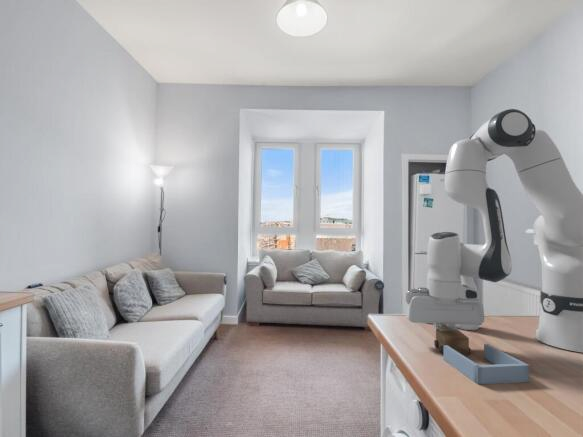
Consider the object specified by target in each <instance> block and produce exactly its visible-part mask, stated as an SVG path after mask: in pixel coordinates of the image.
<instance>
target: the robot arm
mask: <svg viewBox="0 0 583 437" xmlns="http://www.w3.org/2000/svg"><path fill="white" fill-rule="evenodd" d="M559 150H560V149H559V148H558V147H557V145H556V144H555V142H554V140H553V139H552V138H551V136H550V135H549V134H548V133H547V132H546V131H544V130H543V129H542V130H541V129H536V125H535V124H534V123H533V122H532V119H531V118H530V117H529V116H528V115H527V114H526V113H525V112H523V111H521V110H520V109H515V108H509V109H505V110H503V111H499V113H496V114H495V115H493V116H492V117H491V118H490V119H488V120H487V121H485V122H484V123H483V124H482V125H481V126H480V127H479V128H478V129H477V131H476V132H474V133H473V134H472V135H471V136H470V137H469V138H465V139H460V140H458V141H456V142H454V143H453V144H452V145H451V146H450V149H449V152H448V155H447V158H446V164H445V172H444V173H445V174H444V191H445V193H446V195H447V196H448V197H449V198H450V199H451V200H452V201H454V202H456V203H459V204H462V205H464V206H467V207H471V208H472V209H473V208H474V209H475V210H477V211H478V212H479V213H480V215H481V217H482V222H483V230H484V238H485V239H484V240H485V242H484V244H475V243H474V244H471V243H463V242H462V241H460V236H459V234H458V233H456V232H453V231H446V232H445V231H443V232H436V233H433V234H431V235H430V236H429V238H428V243H427V249H426V250H427V251H426V265H427V269H428V272H427V275H426V288H427V289H418V288H411V289H410V290H408V291H407V292H406V293H405V300H406V301H405V302H406V308H405V317H406V319H407V320H408V321H409V322H411V323H413V324H414V323H418V324H432V325H433V327H434V329H435V330H436V329H437V330H438V326H442V325H444V324H445V325H446V326H448V327H455V324H465V325H479V326H481V325H483V324H484V322H485V310H484V304H483V302H482V301H481V300H480V299H481V297H482V293H481V291H479V290H478V289H477V290H478V291H477V290H475V289H473V288H470V287H468V286H465V285H462V280H461V276H465V277H472V278H473V279H478V280H479V279H480V280H483V281H488V282H492V283H497V282H501V281H502V280H504V279H506V278H507V277H508V276H509V275H511V272H512V265H513V264H512V258H511V254H510V250H509V247H508V242H507V237H506V230H505V224H504V218H503V211H502V210H503V209H502V205H501V201H500V198H499V197H500V196H499V195H498V193H497V191H496V190H495V189H492V188H490V186H489V184H488V181H487V164H488V162H490V161H492V160H495V159H497V158H498V157H501V156H503V155H505V156H506V157H508V158H509V159H510V160H511V161H512V163H513V164H514V168H515V170H516V173H517V175H518V178H519V180H520V182H521V185H522V187H523V190H524V192H525V194H526V196H527V198H528V199H529V200H530V201H531V202H532V203H533V205H534V206H535V207H536V209H537V210H538V212H539V214H540V215H539V216H538V217H537V218H536V219H535V221H534V223H533V227H532V229H533V232H534V234H535V238H536V242H537V248H538V252H539V253H538V254H539V258H540V261H541V290H540V292H539V293H540V295H539V298H540V300H539V303H540V304H541V308H540V309H539V310H540V312H539V318H538V326H537V328H536V330H535V333H536V335H535V339H537V340H538V341H540V342H541V343H543V344H545V345H548V346H552V347H555V348H559V349H563V350H567V351H572V352H577V353H582V354H583V193H582V192H581V191H580V189H579V188H578V186H577V185H576V183H575V182H574V179H573V178H572V175H571V174H570V171H569V170H568V169H569V168H568V166H567V164H566V163H565V161H564V158H563V156H562V154H561V152H560V151H559ZM478 299H479V300H478Z"/></svg>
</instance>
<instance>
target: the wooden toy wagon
mask: <svg viewBox="0 0 583 437" xmlns="http://www.w3.org/2000/svg"><path fill="white" fill-rule="evenodd" d="M469 340H470V338H469V337H468V336H467V335H465V334H464V333H463V332H462V331H460V330H459V328H458V327H448V326H447V325H446V326H443V325H441V326H438V330H437V329H435V340H434V341H433V343H434V347H435V348H438V349H439V352H440V353H441V354H443V345H448V346H449V347H451V348H452V349H454V350H455V351H457V352H459V353H460V354H462V355H463V356H465V357H466V356H468V357H469V355H471V353H472V352H471V348H470V345H469V344H470V343H469Z"/></svg>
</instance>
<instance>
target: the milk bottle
mask: <svg viewBox="0 0 583 437" xmlns="http://www.w3.org/2000/svg"><path fill="white" fill-rule="evenodd" d="M461 280H462V285H465V286H468V287H470V288H473V289H475V290H477V291H479V290H478V287H477V284H476V283H475V280H474V278H472V277H465V276H461ZM478 300H480V299H478ZM455 327H458V329H461V330H465V331H478V330H479V328H480V325H465V324H455Z"/></svg>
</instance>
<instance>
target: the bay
mask: <svg viewBox="0 0 583 437" xmlns="http://www.w3.org/2000/svg"><path fill="white" fill-rule="evenodd" d="M442 354H443V361H445V362H446V363H448V364H449V365H450V366H451V367H454V369H456V370H457V371H459V372H460V373H462V374H463V375H464V376H466V377H467V378H469V379H470V380H471V381H473V382H474V383H475V384H476V385H487V384H488V385H489V384H507V383H508V384H511V383H530V365H529V364H528V363H525V362H524V361H521V360H520V359H517V358H516V357H514V356H512V355H510V354H508V353H506V352H505V351H504V352H503V351H502V350H500V349H499V348H496V347H494V346H492V345H490V344H488V343H484V344H483V354H484V355H483V357H484V359H485V360H487V361H489V362H490V363H492V364H477V363H476V362H475V361H473V360H471V359H469V358H468V357H466V355H462V354H460V353H459V352H457V351H455V350H454V349H452V348H451V347H449V346H448V345H443V353H442Z"/></svg>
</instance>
